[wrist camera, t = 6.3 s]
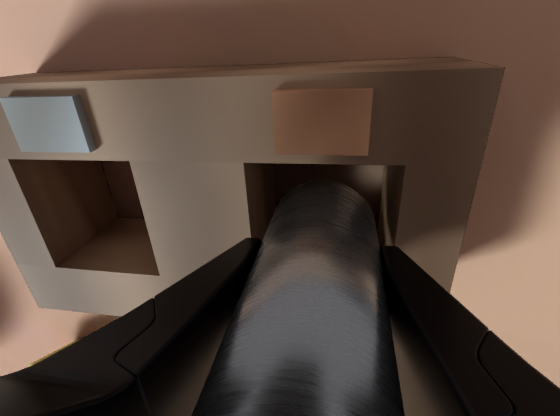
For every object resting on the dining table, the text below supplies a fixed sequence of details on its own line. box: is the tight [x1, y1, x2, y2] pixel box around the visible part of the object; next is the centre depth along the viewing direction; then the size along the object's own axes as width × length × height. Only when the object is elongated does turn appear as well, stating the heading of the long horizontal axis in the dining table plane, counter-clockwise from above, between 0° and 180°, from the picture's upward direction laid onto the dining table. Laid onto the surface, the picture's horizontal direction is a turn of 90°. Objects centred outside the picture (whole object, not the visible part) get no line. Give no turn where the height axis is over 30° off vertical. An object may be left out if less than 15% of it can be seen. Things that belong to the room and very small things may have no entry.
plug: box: [191, 180, 405, 416], centre depth 7 cm, size 3×3×7 cm
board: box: [0, 57, 505, 316], centre depth 12 cm, size 16×9×4 cm, turn 93°
